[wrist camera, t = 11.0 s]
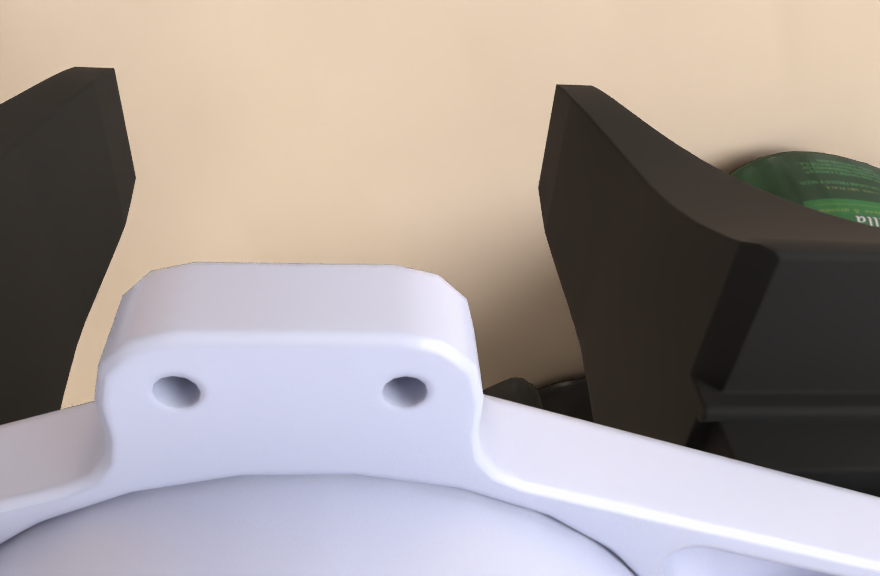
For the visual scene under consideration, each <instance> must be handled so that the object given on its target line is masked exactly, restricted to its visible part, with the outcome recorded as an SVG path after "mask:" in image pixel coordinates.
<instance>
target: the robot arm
mask: <svg viewBox="0 0 880 576" xmlns="http://www.w3.org/2000/svg"><path fill="white" fill-rule="evenodd" d="M135 179H136V176H135V171H134V166H133V161H132V156H131V151H130V146H129V141H128V136H127V131H126V126H125V121H124V116H123V110H122V105H121V100H120V95H119V90H118V85H117V80H116V75H115V70H114V68H91V67H73V68H70V69H67V70H65V71H62V72H60V73H58V74H56V75H54V76H52V77H50V78H48V79H46V80H44V81H42V82H40V83H39V84H37V85H35V86H33V87H31V88H29V89H28V90H26V91H24V92H22V93H20V94H18V95H17V96H15V97H13V98H11V99H9V100H7V101H6V102H4V103H2V104H0V576H880V227H875V226H871V225H866V224H862V223H858V222H855V221H851V220H848V219H844V218H841V217H837V216H834V215H830V214H827V213H823V212H820V211H817V210H814V209H811V208H808V207H805V206H802V205H799V204H796V203H794V202H791V201H789V200H786V199H784V198H781V197H778V196H776V195H773V194H771V193H768V192H765V191H763V190H761V189H759V188H756V187H754V186H752V185H749V184H747V183H745V182H743V181H741V180H739V179H737V178H735V177H733V176H731V175H729V174H727V173H725V172H723V171H721V170H719V169H717V168H715V167H713V166H712V165H710V164H708V163H706V162H705V161H703V160H701V159H699V158H698V157H696V156H695V155H693V154H691V153H690V152H688V151H687V150H685V149H683V148H682V147H680V146H679V145H677V144H675V143H674V142H673V141H671V140H670V139H668V138H667V137H665V136H664V135H662V134H661V133H659V132H658V131H656V130H655V129H654V128H652V127H651V126H649V125H648V124H647V123H645V122H644V121H643V120H641V119H640V118H638V117H637V116H636V115H634V114H633V113H632V112H630V111H629V110H628V109H626V108H625V107H624V106H622V105H621V104H620V103H618V102H617V101H615V100H614V99H613V98H611V97H610V96H608V95H607V94H605V93H604V92H602V91H601V90H599V89H597V88H595V87H594V86H585V85H558V84H556V90H555V96H554V101H553V107H552V113H551V119H550V124H549V130H548V136H547V141H546V147H545V153H544V158H543V164H542V170H541V175H540V181H539V187H538V189H539V196H540V203H541V210H542V217H543V223H544V229H545V234H546V237H547V241H548V244H549V247H550V250H551V254H552V257H553V260H554V263H555V266H556V269H557V273H558V276H559V279H560V282H561V285H562V288H563V291H564V294H565V297H566V300H567V303H568V307H569V310H570V313H571V316H572V319H573V322H574V325H575V329H576V332H577V336H578V340H579V344H580V348H581V353H582V358H583V364H584V369H585V374H586V380H587V385H588V390H589V396H590V402H591V409H592V415H593V421H594V423H592V422H588V421H585V420H581V419H577V418H573V417H569V416H565V415H561V414H558V413H554V412H550V411H546V410H542V409H538V408H535V407H531V406H527V405H523V404H519V403H515V402H512V401H508V400H504V399H500V398H496V397H492V396H488V395H485V394H483V389H482V382H481V375H480V368H479V361H478V354H477V347H476V340H475V333H474V328H473V323H472V319H471V315H470V310H469V306H468V301H467V299H466V298H465V297H464V296H463V295H461V294H460V293H459V292H458V291H457V290H456V289H454V288H453V287H452V286H451V285H450V284H449V283H447V282H446V281H445V280H444V279H443V278H442V277H440V276H439V275H437V274H433V273H429V272H424V271H420V270H415V269H411V268H407V267H402V266H398V265H371V264H302V263H233V262H193V263H188V264H183V265H178V266H173V267H168V268H163V269H158V270H153V271H150V272H149V273H148V274H147V275H146V276H145V277H144V278H142V279H141V280H140V281H139V282H138V283H137V284H136V285H134V286H133V287H132V288H131V289H130V290H129V291H128V292H126V293H125V294H124V295H123V297H122V300H121V302H120V305H119V308H118V311H117V314H116V317H115V319H114V322H113V325H112V328H111V331H110V334H109V336H108V339H107V342H106V345H105V348H104V350H103V353H102V356H101V359H100V362H99V365H98V372H97V381H96V390H95V401H92V402H88V403H84V404H80V405H77V406H73V407H69V408H65V409H61V410H60V408H61V404H62V400H63V396H64V391H65V388H66V384H67V380H68V377H69V373H70V369H71V365H72V362H73V358H74V354H75V350H76V347H77V344H78V341H79V338H80V335H81V332H82V329H83V327H84V324H85V321H86V319H87V317H88V314H89V312H90V309H91V307H92V305H93V302H94V300H95V298H96V295H97V293H98V290H99V288H100V286H101V283H102V281H103V278H104V276H105V274H106V271H107V269H108V267H109V264H110V262H111V259H112V257H113V255H114V252H115V250H116V247H117V245H118V242H119V240H120V237H121V235H122V232H123V230H124V227H125V224H126V220H127V216H128V212H129V208H130V203H131V199H132V194H133V189H134V184H135Z"/></svg>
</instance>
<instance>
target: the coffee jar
mask: <svg viewBox="0 0 880 576" xmlns="http://www.w3.org/2000/svg"><path fill="white" fill-rule="evenodd" d="M730 175H731V176H733V177H735V178H737V179H739V180H741V181H743V182H745V183H747V184H749V185H752V186H754V187H756V188H759V189H761V190H763V191H765V192H768V193H771V194H773V195H776V196H778V197H781V198H784V199H786V200H789V201H791V202H794V203H796V204H799V205H802V206H805V207H808V208H811V209H814V210H817V211H820V212H823V213H827V214H830V215H834V216H837V217H841V218H844V219H848V220H851V221H855V222H858V223H862V224H866V225H871V226H875V227H880V169H879V168H876V167H874V166H871V165H869V164H867V163H863V162H859V161H855V160H852V159H848V158H845V157H841V156H837V155H831V154H825V153H818V152H798V151H791V152H782V153H778V154H774V155H770V156H767V157H764V158H760V159H757V160H755V161H751V162H749V163H748V164H746V165H744V166H742V167H740V168H738V169H737V170H735V171H734V172H733V173H732V174H730Z"/></svg>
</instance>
